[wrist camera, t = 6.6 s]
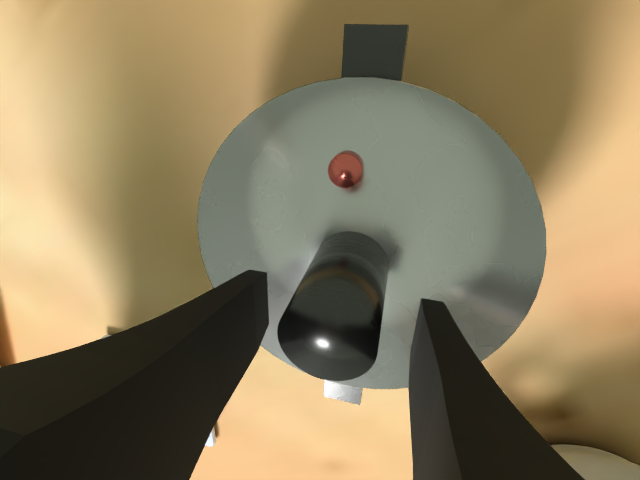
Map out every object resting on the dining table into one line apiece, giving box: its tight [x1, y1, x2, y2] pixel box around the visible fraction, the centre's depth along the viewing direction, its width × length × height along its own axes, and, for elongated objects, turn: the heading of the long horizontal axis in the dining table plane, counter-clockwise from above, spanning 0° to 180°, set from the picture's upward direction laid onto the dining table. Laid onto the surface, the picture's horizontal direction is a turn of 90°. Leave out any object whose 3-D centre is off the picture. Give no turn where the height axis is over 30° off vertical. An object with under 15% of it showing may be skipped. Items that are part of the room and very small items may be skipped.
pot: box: [324, 24, 409, 405], centre depth 15 cm, size 16×11×4 cm
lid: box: [198, 77, 546, 389], centre depth 11 cm, size 12×12×5 cm
